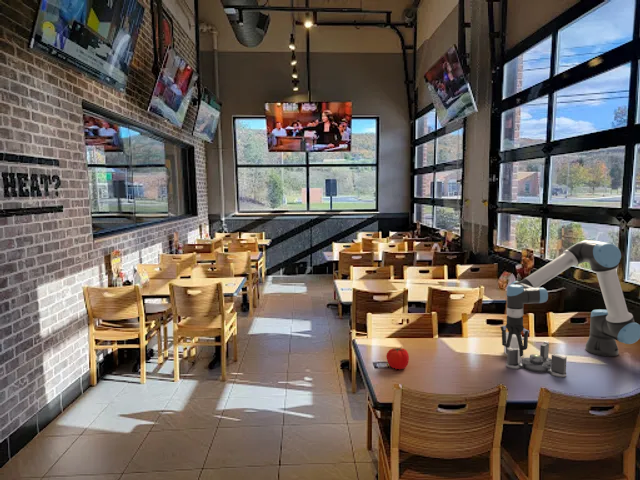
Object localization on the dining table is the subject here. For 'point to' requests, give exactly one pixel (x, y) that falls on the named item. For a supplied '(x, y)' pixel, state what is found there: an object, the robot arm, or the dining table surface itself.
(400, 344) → the dining table surface
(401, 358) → the tomato
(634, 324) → the robot arm
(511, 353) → the dark grey angled finger
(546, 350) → the knob
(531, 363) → the tribrach
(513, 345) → the mug
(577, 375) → the dining table surface
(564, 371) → the knob
